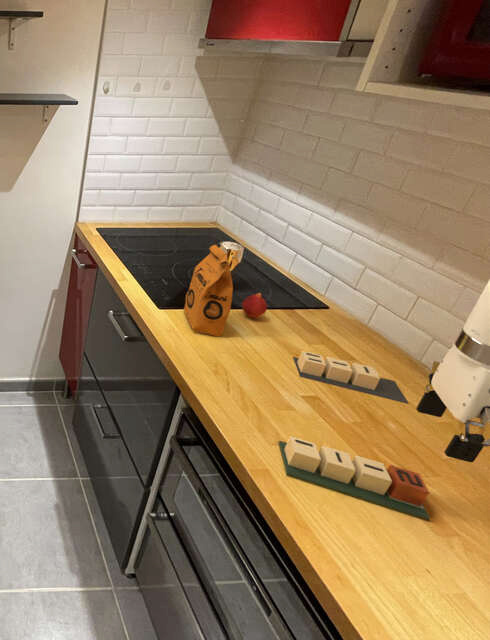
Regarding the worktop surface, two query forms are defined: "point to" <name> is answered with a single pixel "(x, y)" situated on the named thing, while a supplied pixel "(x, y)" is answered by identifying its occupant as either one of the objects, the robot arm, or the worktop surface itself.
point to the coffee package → (210, 294)
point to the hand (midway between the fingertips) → (442, 434)
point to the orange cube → (407, 486)
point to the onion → (254, 305)
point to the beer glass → (232, 255)
